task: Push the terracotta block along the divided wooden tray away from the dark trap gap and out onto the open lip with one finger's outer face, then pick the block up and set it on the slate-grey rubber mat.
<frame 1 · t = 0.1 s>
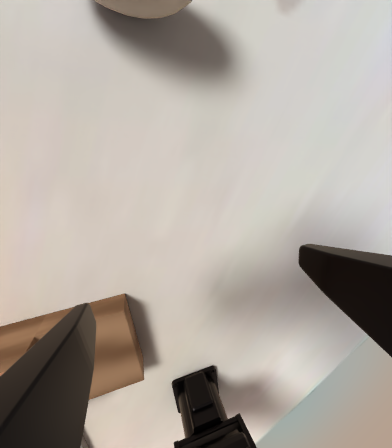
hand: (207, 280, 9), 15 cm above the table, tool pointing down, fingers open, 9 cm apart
divided wooden tray: (0, 368, 23), on the table
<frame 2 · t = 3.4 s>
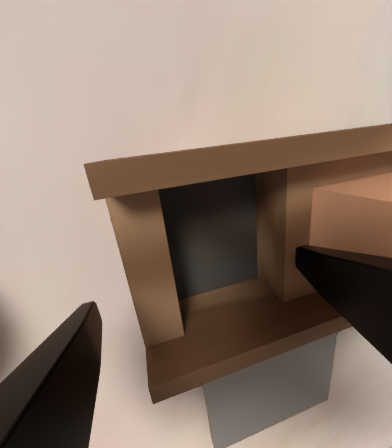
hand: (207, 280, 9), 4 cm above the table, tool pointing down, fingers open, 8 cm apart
block: (346, 224, 12), point 3 cm above the table, touching gripper, divided wooden tray
mat: (268, 369, 19), on the table
divided wooden tray: (294, 214, 14), on the table
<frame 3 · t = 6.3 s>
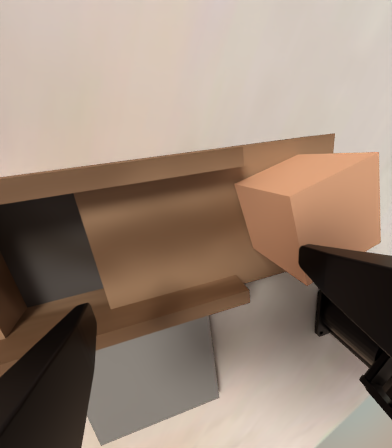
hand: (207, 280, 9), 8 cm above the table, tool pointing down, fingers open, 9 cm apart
block: (274, 203, 15), point 3 cm above the table, touching divided wooden tray
mat: (151, 369, 20), on the table
divided wooden tray: (142, 229, 16), on the table
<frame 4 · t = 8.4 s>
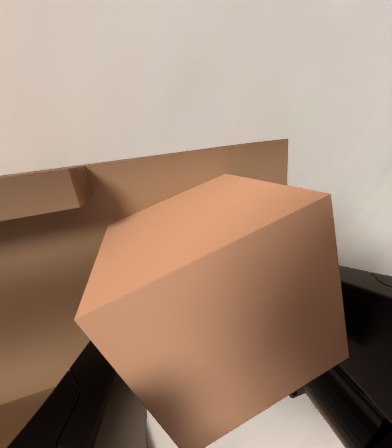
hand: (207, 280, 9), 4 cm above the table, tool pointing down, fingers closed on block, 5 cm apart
block: (191, 250, 9), point 3 cm above the table, touching gripper, divided wooden tray
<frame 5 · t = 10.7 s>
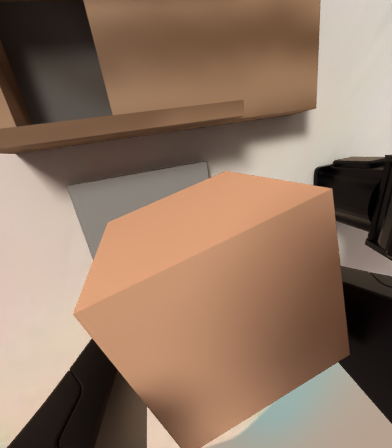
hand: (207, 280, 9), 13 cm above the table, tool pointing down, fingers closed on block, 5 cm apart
block: (191, 248, 9), point 12 cm above the table, touching gripper
mat: (155, 232, 21), on the table
divided wooden tray: (142, 66, 17), on the table
when the fingers open (3 cm above the table, at t = 13.2 s): block drops 1 cm, resting on mat.
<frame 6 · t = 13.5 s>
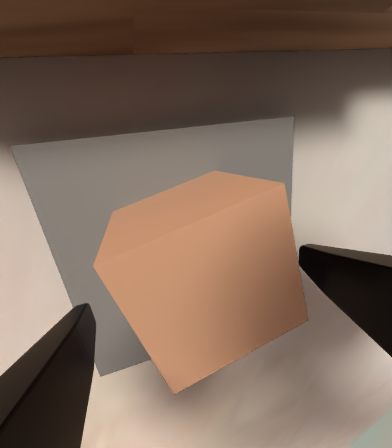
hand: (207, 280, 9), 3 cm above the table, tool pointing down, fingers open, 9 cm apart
block: (184, 237, 11), point 1 cm above the table, touching mat
mat: (186, 247, 12), on the table
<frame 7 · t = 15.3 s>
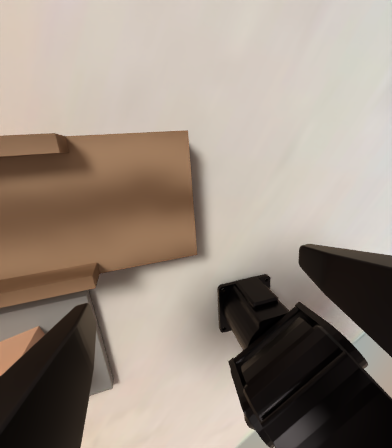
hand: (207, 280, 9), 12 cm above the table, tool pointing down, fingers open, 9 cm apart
block: (24, 357, 19), point 1 cm above the table, touching mat
mat: (35, 355, 20), on the table
divided wooden tray: (8, 213, 16), on the table
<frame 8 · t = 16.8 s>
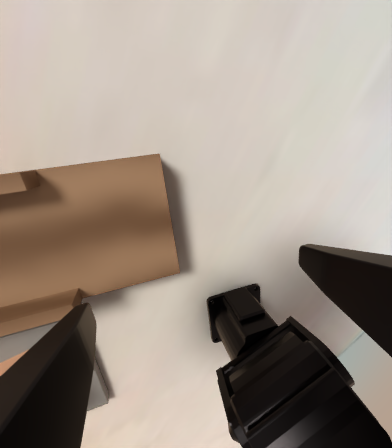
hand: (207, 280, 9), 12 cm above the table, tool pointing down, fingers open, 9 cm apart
mat: (29, 376, 21), on the table
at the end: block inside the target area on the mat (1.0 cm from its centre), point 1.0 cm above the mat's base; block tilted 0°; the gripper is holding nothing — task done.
